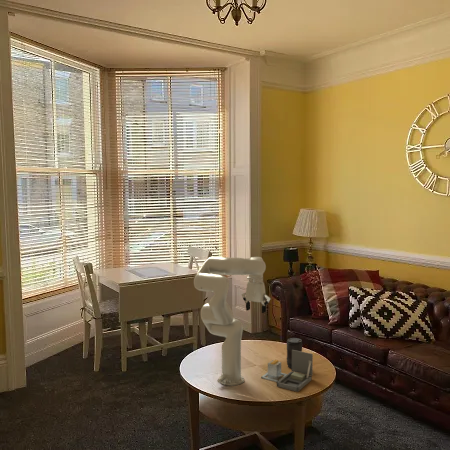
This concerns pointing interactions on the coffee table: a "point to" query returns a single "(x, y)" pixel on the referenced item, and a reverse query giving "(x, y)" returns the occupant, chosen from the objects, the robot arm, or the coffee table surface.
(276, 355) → the coffee table surface
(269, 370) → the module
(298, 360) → the case
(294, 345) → the camera lens
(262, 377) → the tray
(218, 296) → the robot arm
